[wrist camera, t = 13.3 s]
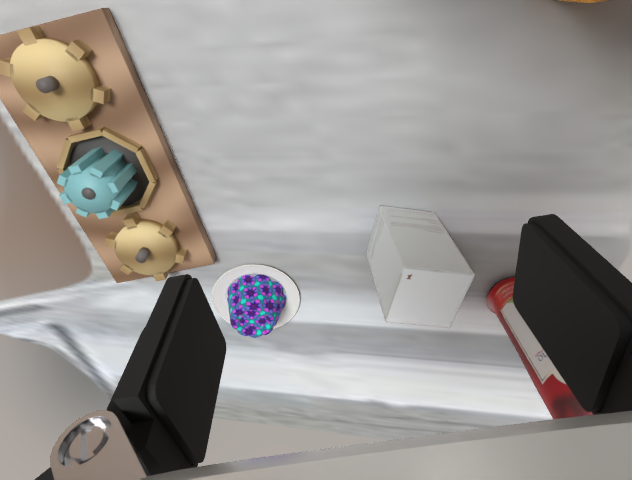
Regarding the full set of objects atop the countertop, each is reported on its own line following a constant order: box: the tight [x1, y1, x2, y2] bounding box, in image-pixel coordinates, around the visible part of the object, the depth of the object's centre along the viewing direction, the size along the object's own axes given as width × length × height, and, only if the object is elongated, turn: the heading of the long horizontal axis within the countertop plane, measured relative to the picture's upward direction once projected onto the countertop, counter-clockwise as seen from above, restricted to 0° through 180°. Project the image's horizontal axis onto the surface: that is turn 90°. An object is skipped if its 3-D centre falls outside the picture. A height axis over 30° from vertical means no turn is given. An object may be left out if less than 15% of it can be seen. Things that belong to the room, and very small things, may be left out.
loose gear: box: [57, 147, 138, 219], centre depth 39 cm, size 6×6×5 cm
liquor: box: [487, 277, 593, 419], centre depth 43 cm, size 7×7×28 cm
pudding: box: [212, 264, 300, 338], centre depth 52 cm, size 12×12×5 cm
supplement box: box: [367, 206, 475, 328], centre depth 43 cm, size 7×7×13 cm
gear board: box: [0, 8, 216, 283], centre depth 41 cm, size 28×13×4 cm, turn 12°
